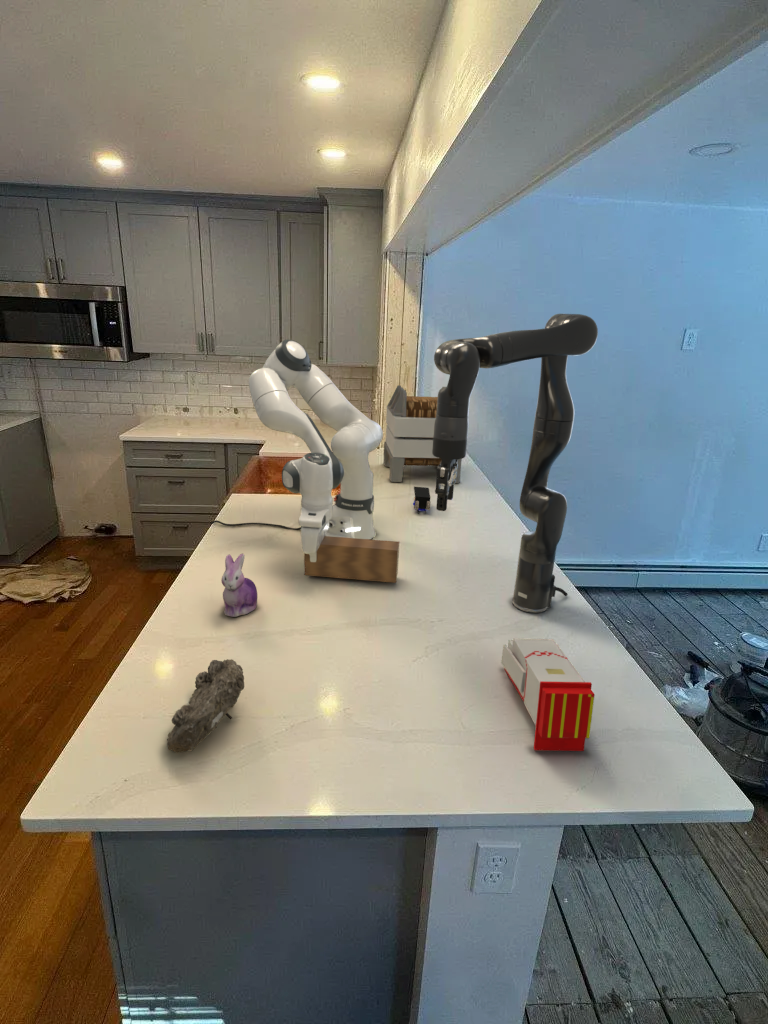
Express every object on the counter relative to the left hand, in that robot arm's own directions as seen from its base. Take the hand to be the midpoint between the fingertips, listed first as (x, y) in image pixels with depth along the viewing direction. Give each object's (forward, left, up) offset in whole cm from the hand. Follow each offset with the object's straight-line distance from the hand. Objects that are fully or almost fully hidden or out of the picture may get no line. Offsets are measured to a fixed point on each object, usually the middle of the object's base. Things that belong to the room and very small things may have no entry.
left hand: (316, 555), depth 165 cm
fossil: (+5, -63, -6) cm, 64 cm away
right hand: (+39, -17, +26) cm, 50 cm away
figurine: (-11, -25, -6) cm, 28 cm away
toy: (+64, -38, -6) cm, 75 cm away
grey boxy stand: (+4, +120, -6) cm, 121 cm away
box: (+10, +2, -5) cm, 12 cm away
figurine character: (+16, +69, -6) cm, 71 cm away
